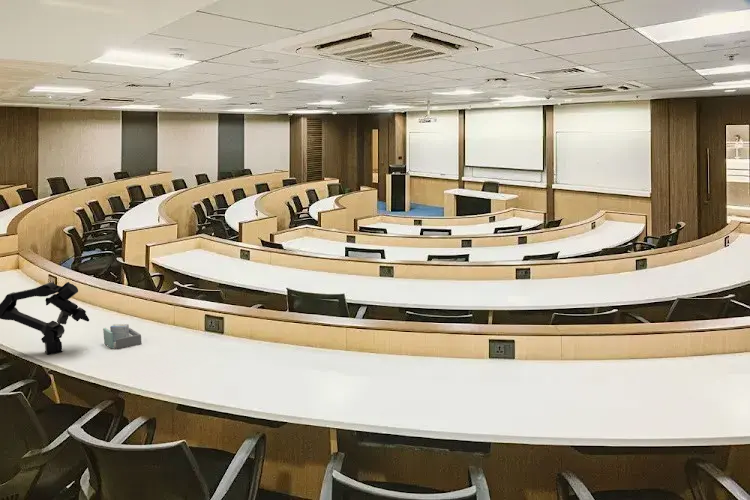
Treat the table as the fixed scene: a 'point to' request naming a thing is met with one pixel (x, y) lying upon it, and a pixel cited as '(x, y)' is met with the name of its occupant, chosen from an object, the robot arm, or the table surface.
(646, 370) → the table surface
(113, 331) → the medicine box
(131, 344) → the dock
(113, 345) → the tray
